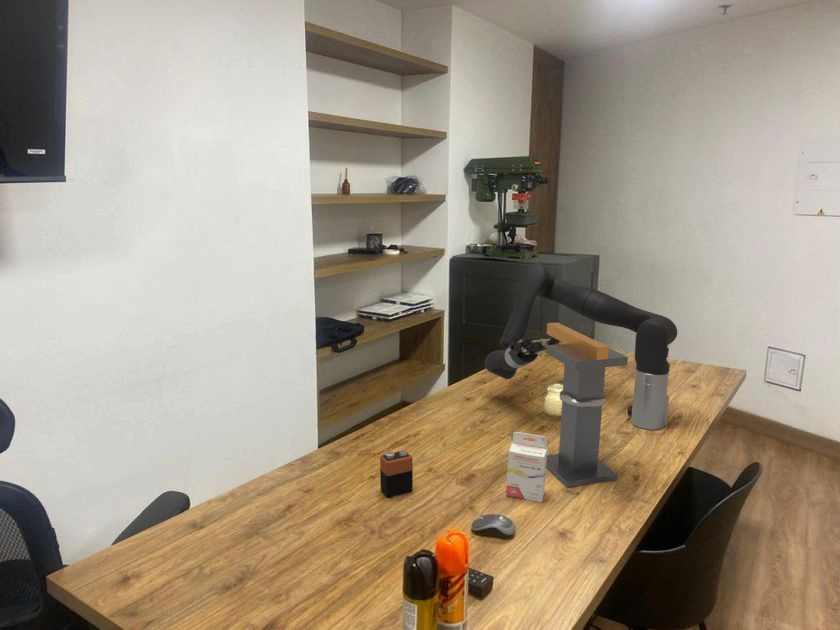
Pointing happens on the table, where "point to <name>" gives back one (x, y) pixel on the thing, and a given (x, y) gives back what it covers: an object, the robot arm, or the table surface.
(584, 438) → the stand
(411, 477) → the battery
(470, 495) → the table surface
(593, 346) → the bar
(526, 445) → the ink cartridge box
